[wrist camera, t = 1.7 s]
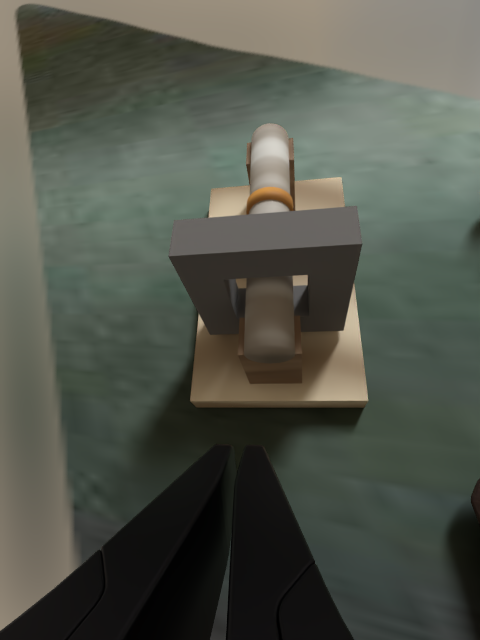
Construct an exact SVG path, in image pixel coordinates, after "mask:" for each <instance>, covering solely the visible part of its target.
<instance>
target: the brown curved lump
mask: <svg viewBox="0 0 480 640" xmlns="http://www.w3.org/2000/svg"><path fill="white" fill-rule="evenodd" d="M471 503H472V506H473V509H474V511H475V514H476V517H477V519H478V522H479V525H480V479H479V480H478V481H477V483H476V485H475V488H474V490H473V493H472V495H471Z"/></svg>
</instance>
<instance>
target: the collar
mask: <svg viewBox="0 0 480 640" xmlns="http://www.w3.org/2000/svg"><path fill="white" fill-rule="evenodd" d="M361 247H362V239H361V232H360V224H359V217H358V210H357V206H349V207H336V208H324V209H311V210H299V211H286V212H273V213H261V214H248V215H236V216H223V217H210V218H198V219H185V220H174V224H173V231H172V237H171V244H170V250H169V258H170V260H171V262H172V264H173V266H174V267H175V269H176V271H177V273H178V275H179V277H180V279H181V281H182V283H183V285H184V286H185V288H186V290H187V292H188V294H189V296H190V298H191V300H192V302H193V303H194V305H195V307H196V309H197V311H198V313H199V315H200V317H201V319H202V321H203V322H204V324H205V326H206V328H207V330H208V332H209V334H210V335H220V334H239V318H245V307H246V288H238V286H237V282H236V279H242V278H261V277H279V276H298V275H308V285H299V286H293V301H294V316H300V324H301V332H319V331H344V326H345V322H346V317H347V312H348V308H349V303H350V298H351V294H352V289H353V284H354V280H355V275H356V270H357V266H358V261H359V256H360V252H361Z"/></svg>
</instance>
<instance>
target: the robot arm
mask: <svg viewBox="0 0 480 640" xmlns="http://www.w3.org/2000/svg"><path fill="white" fill-rule="evenodd" d="M231 532H232V536H231ZM230 541H231V555H230V574H229V593H228V612H227V631H226V640H354V639H353V637H352V635H351V633H350V631H349V630H348V628H347V626H346V624H345V623H344V621H343V619H342V617H341V615H340V613H339V611H338V609H337V607H336V605H335V603H334V601H333V599H332V597H331V595H330V593H329V591H328V589H327V587H326V585H325V582H324V580H323V578H322V576H321V573H320V571H319V569H318V567H317V565H316V564H315V561H314V558H313V556H312V554H311V551H310V549H309V547H308V545H307V542H306V540H305V538H304V536H303V533H302V531H301V529H300V527H299V524H298V522H297V520H296V518H295V515H294V513H293V511H292V509H291V506H290V504H289V502H288V500H287V497H286V495H285V493H284V491H283V488H282V486H281V484H280V482H279V479H278V477H277V475H276V473H275V470H274V468H273V466H272V464H271V461H270V459H269V457H268V454H267V452H266V450H265V448H264V446H262V445H246V446H245V448H244V451H243V454H242V458H241V461H240V465H239V468H238V471H237V473H236V463H235V453H234V448H233V446H232V445H226V444H216V445H214V446H213V447H212V448H210V449H209V450H208V451H207V452H206V453H205V454H204V455H203V456H202V457H200V458H199V459H198V460H197V461H196V462H195V463H194V464H193V465H192V466H190V467H189V468H188V469H187V470H186V471H185V472H184V473H183V474H182V475H181V476H179V477H178V478H177V479H176V480H175V481H174V482H173V483H172V484H171V485H169V486H168V487H167V488H166V489H165V490H164V491H163V492H162V493H161V494H159V495H158V496H157V497H156V498H155V499H154V500H153V501H152V502H151V503H149V504H148V505H147V506H146V507H145V508H144V509H143V510H142V511H141V512H140V513H138V514H137V515H136V516H135V517H134V518H133V519H132V520H131V521H130V522H128V523H127V524H126V525H125V526H124V527H123V528H122V529H121V530H120V531H118V532H117V533H116V534H115V535H114V536H113V537H112V538H111V539H110V540H108V541H107V542H106V543H105V544H104V545H103V546H102V547H101V550H97V551H96V552H95V553H94V554H93V555H92V556H91V557H89V558H88V559H87V560H86V561H85V562H84V563H83V564H82V565H81V566H79V567H78V568H77V569H76V570H75V571H74V572H72V573H71V574H70V575H69V576H68V577H67V578H66V579H64V580H63V581H62V582H61V583H60V584H59V585H57V586H56V587H55V588H54V589H53V590H52V591H50V592H49V593H48V594H47V595H45V596H44V597H43V598H41V599H40V600H39V601H38V602H37V603H35V604H34V605H33V606H32V607H30V608H29V609H28V610H27V611H25V612H24V613H23V614H22V615H20V616H19V617H18V618H17V619H15V620H14V621H13V622H12V623H10V624H9V625H7V626H6V627H5V628H4V629H2V630H1V631H0V640H210V636H211V632H212V628H213V623H214V619H215V614H216V610H217V606H218V601H219V597H220V592H221V588H222V584H223V579H224V575H225V571H226V566H227V561H228V556H229V548H230Z"/></svg>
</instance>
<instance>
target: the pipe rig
mask: <svg viewBox="0 0 480 640" xmlns="http://www.w3.org/2000/svg"><path fill="white" fill-rule="evenodd" d="M246 166H247V172H248V178H249V184H250V185H249V186H238V187H227V188H216V189H211V198H210V208H209V218H210V217H223V216H236V215H248V214H261V213H273V212H286V211H299V210H311V209H324V208H336V207H345V203H344V195H343V186H342V178H341V177H336V178H325V179H314V180H304V181H295V178H294V148H293V138H289V139H288V134H287V132H286V130H285V129H284V128H283V127H281V126H279V125H277V124H265V125H262V126H260V127H259V128H257V129H256V130H255V132H254V133H253V135H252V142H251V143H247V159H246ZM236 282H237V286H238V288H246V307H245V318H239V334H220V335H210V334H209V332H208V330H207V328H206V326H205V324H204V322H203V321H202V319H201V317H200V315H199V318H198V327H197V337H196V347H195V357H194V367H193V377H192V387H191V397H190V401H191V402H192V403H193V404H194V405H195V406H196V407H243V408H364V407H365V405H366V404H367V402H368V395H367V386H366V378H365V370H364V361H363V353H362V345H361V336H360V328H359V320H358V311H357V303H356V295H355V286H354V284H353V289H352V294H351V298H350V303H349V308H348V312H347V317H346V322H345V326H344V331H319V332H301V324H300V316H294V301H293V286H299V285H308V275H298V276H279V277H261V278H242V279H236Z"/></svg>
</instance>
